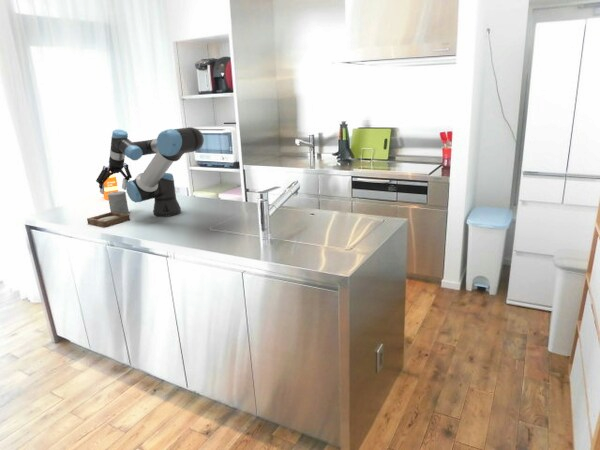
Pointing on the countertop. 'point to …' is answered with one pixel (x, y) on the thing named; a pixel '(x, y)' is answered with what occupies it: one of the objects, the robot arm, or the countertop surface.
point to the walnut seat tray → (108, 219)
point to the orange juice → (110, 186)
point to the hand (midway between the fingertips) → (112, 190)
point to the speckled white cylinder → (118, 202)
